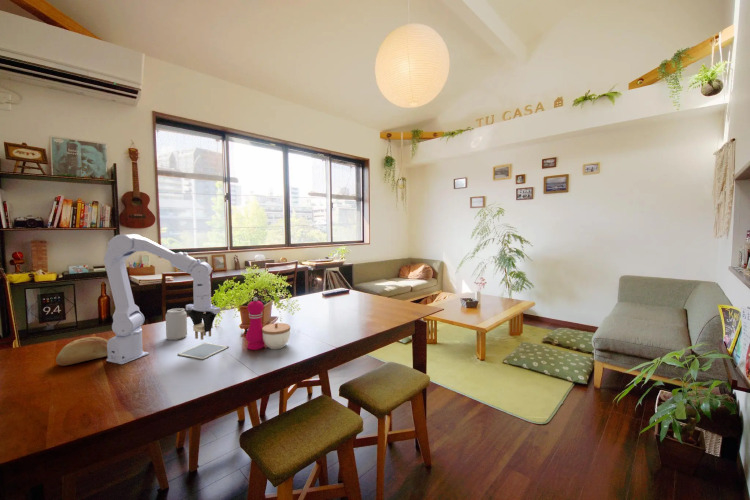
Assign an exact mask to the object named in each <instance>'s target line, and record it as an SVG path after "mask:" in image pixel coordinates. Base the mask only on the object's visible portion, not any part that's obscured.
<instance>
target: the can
mask: <svg viewBox="0 0 750 500" xmlns="http://www.w3.org/2000/svg"><path fill="white" fill-rule="evenodd" d="M164 315H165V337H166V339H168V340H169V341H177V340H178V339H179V340H182V339H184V338H186V336H187V335H188V321H187V320H188V313H187V311H186V308H183V307H182V308H180V307H178V308H177V307H176V308H171V309H167V311H166V314H164Z"/></svg>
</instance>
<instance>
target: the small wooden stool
mask: <svg viewBox="0 0 750 500" xmlns="http://www.w3.org/2000/svg"><path fill="white" fill-rule="evenodd" d="M192 327H193V332H194V339H199V335H200V340H201V341H203V340H204V337H205V336H207V332H205V329H204V322H203V321H202V323H199V324H196V325H194V324H193V326H192ZM213 328H214V326H213V324H212V328H211V331H208V337H212V329H213ZM199 333H200V334H199Z"/></svg>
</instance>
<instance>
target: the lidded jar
mask: <svg viewBox="0 0 750 500" xmlns="http://www.w3.org/2000/svg"><path fill="white" fill-rule="evenodd" d="M262 334H263V341H264V345H266V346H267V347H268V349H270V350H279V349H282V348H284V347H285V346H286V344H287V343H288V342H289V339H290V336H291V325H290V324H288V323H282V322H275V323H269V324H266V325H263V328H262Z"/></svg>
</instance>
